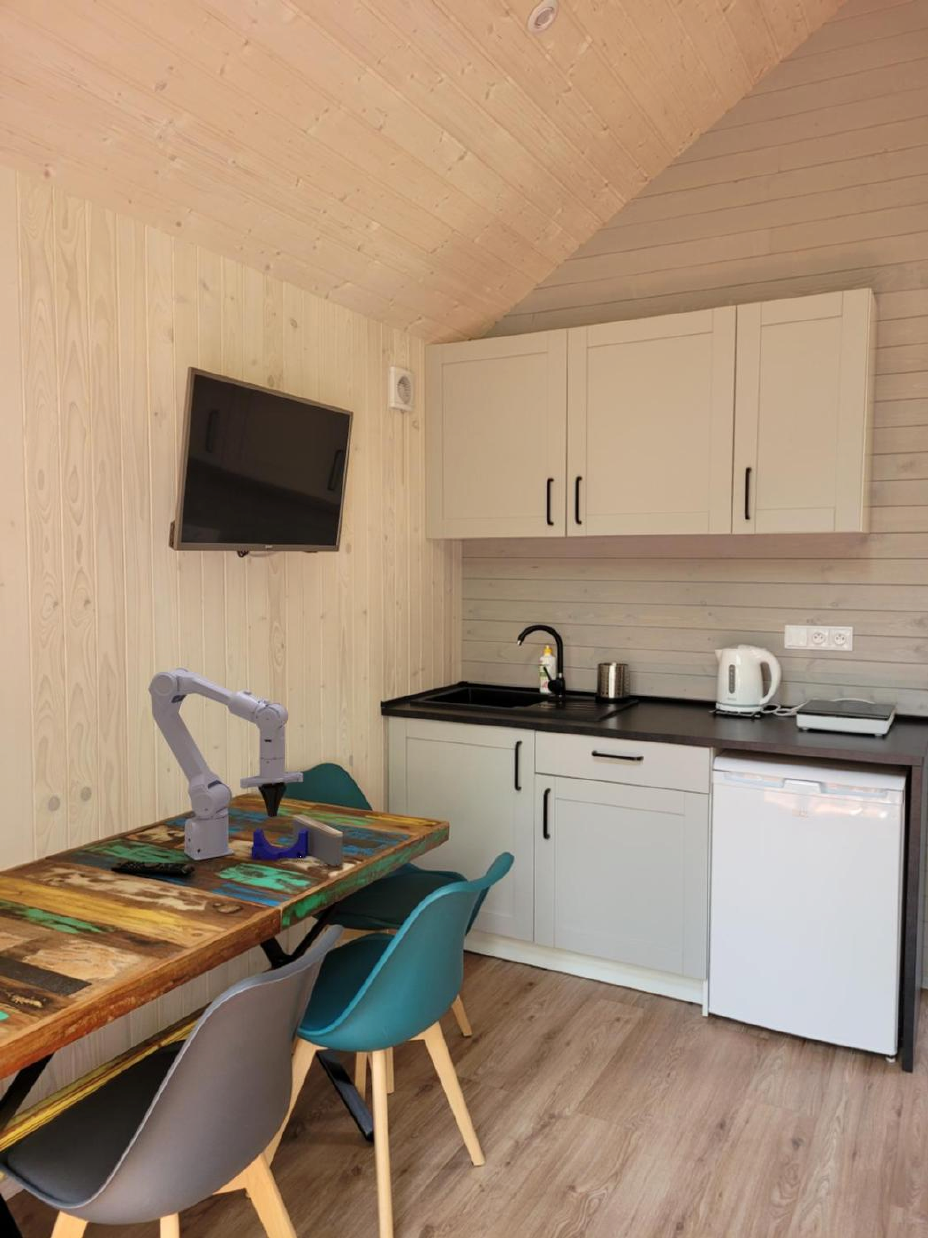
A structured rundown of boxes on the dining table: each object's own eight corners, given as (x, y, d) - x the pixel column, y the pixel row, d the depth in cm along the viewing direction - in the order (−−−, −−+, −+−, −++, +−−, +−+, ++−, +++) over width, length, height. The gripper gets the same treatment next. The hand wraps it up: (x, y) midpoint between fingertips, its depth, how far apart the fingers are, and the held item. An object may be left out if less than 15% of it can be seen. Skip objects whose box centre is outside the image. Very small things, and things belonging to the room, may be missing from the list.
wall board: (332, 866, 208) (332, 834, 208) (292, 845, 224) (292, 815, 224) (342, 864, 209) (342, 832, 209) (302, 844, 226) (302, 814, 225)
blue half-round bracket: (251, 860, 213) (251, 834, 213) (256, 854, 218) (256, 828, 217) (303, 861, 213) (303, 835, 212) (308, 855, 217) (307, 829, 217)
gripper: (248, 763, 207) (248, 824, 208) (308, 756, 215) (308, 815, 216) (236, 758, 213) (236, 817, 213) (295, 752, 221) (295, 809, 222)
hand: (272, 816), depth 215 cm, fingers closed
